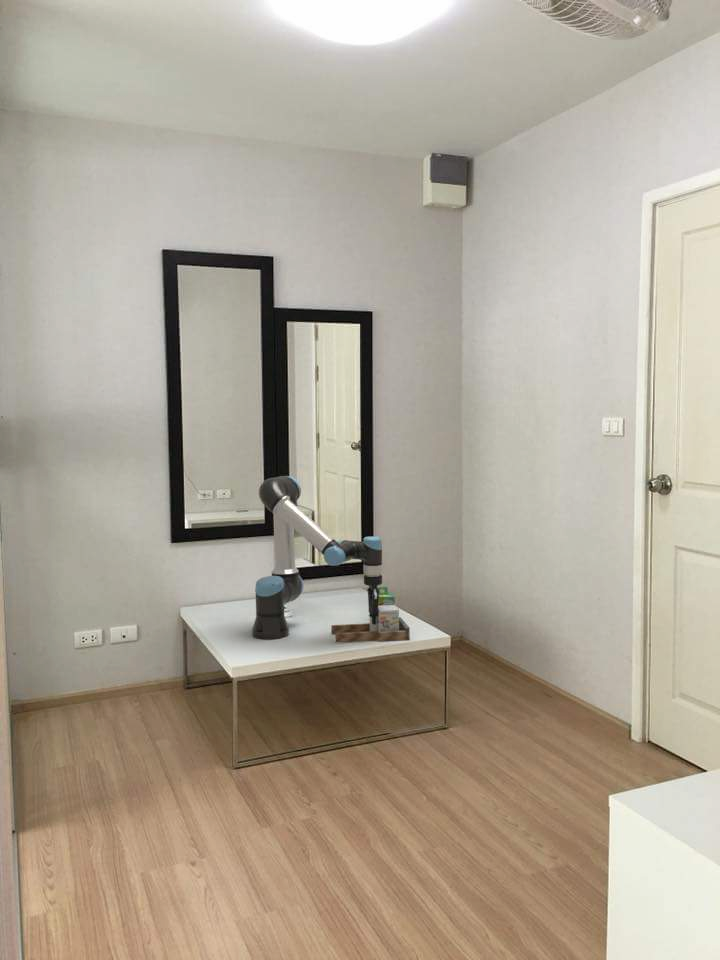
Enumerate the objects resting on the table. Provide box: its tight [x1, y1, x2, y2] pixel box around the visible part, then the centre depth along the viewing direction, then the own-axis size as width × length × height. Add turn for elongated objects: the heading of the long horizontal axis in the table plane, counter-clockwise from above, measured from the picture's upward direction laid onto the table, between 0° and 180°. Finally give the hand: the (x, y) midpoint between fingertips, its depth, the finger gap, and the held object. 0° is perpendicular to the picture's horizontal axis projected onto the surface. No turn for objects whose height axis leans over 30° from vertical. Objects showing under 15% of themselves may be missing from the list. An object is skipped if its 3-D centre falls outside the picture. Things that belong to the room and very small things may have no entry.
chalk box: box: [377, 586, 395, 606], centre depth 359 cm, size 9×9×15 cm
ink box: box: [377, 604, 400, 632], centre depth 336 cm, size 9×9×12 cm
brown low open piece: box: [330, 616, 411, 644], centre depth 335 cm, size 30×17×5 cm, turn 100°
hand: (373, 631), depth 335 cm, fingers closed
